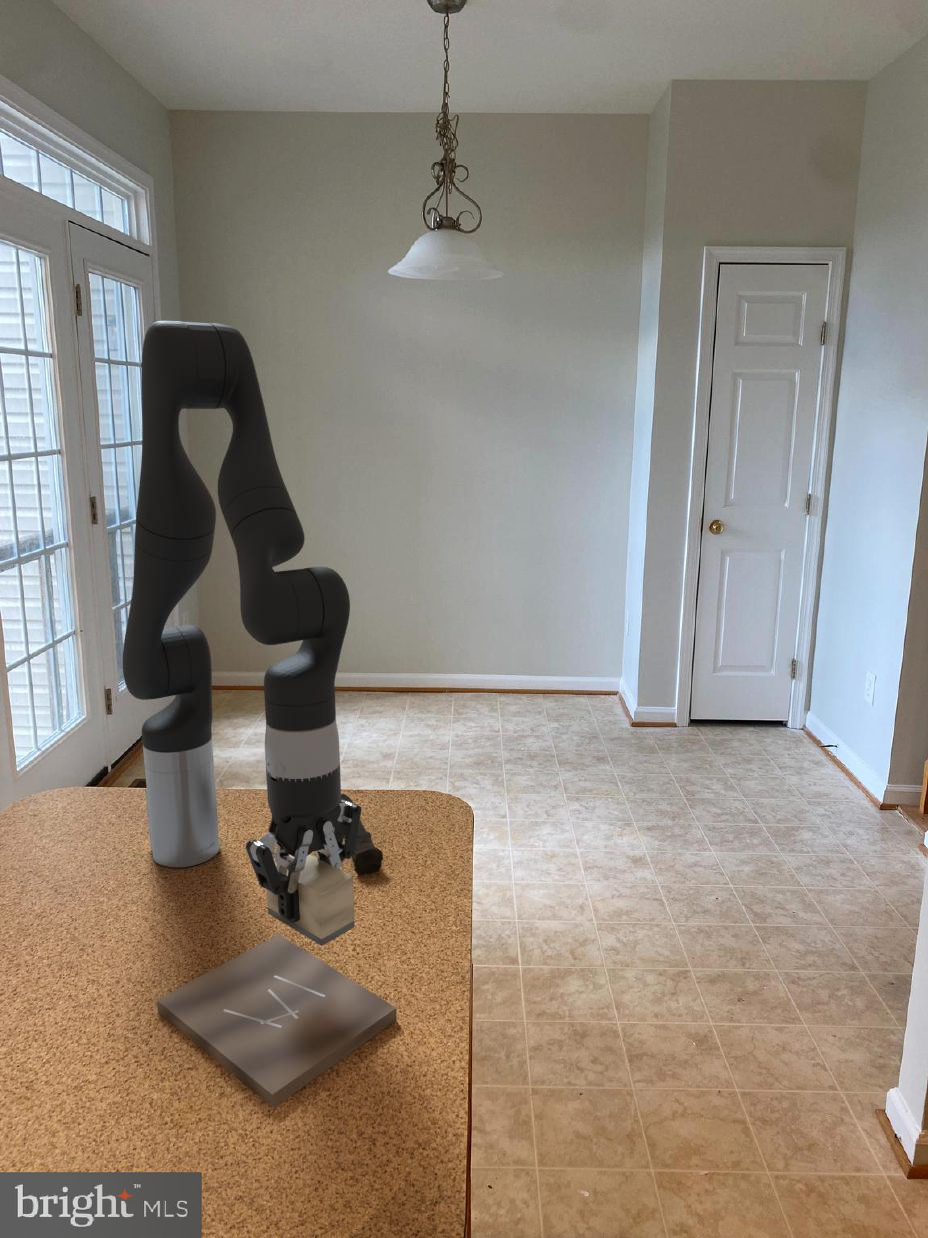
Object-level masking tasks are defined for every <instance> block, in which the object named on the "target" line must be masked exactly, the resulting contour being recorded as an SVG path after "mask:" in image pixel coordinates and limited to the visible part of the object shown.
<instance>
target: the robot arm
mask: <svg viewBox="0 0 928 1238" xmlns="http://www.w3.org/2000/svg"><path fill="white" fill-rule="evenodd" d="M141 351H142V352H141V375H140V377H141V382H140V383H141V458H140V459H141V461H140V463H141V464H140V474H139V476H140V477H139V486H138V497H137V506H136V514H135V515H136V516H135V529H134V531H135V532H134V554H133V556H134V558H133V579H132V592H131V600H130V605H129V611H128V615H127V616H128V617H127V624H126V629H125V634H124V641H123V647H122V673H123V674H122V675H123V681H124V683H125V687H126V688H127V690H128V693H130V695H131V696H133V697H134V698H136V699H137V700H143V701H144V700H146V701H149V700H157V699H163V698H169V697H172V696H175V697H174V698H173V700H172V701H171V702H170V703H169V704H168V705H167V706H165V707H164V708H163V709H162V710H159V711H158V712H156V713H155V714H153V715H152V716H151V715H150V717H149V718H147V719H146V720H145V721H144V722H143V724H142V727H141V742H142V749H143V762H144V773H145V783H146V789H145V799H146V800H145V801H146V809H147V823H148V833H149V844H150V850H152V851H151V853H152V858H153V861H155V863H156V864H158V865H160V866H162V867H163V866H164V867H169V868H187V867H192V866H197V865H200V864H202V863H205V862H207V861H209V860H211V859H212V858H213V857H215V856H216V855H217V854H218V853H219V851H220V834H219V833H220V832H219V831H220V830H219V818H218V817H219V816H218V804H217V793H216V791H217V790H216V776H215V761H214V759H215V758H214V751H213V750H214V749H213V747H214V746H213V733H212V724H213V696H212V694H213V692H212V691H213V690H212V689H213V687H212V686H213V685H212V683H213V681H212V677H213V674H212V673H213V671H212V670H213V669H212V656H211V649H210V646H209V641H208V639H207V636H206V635H205V633H204V631H203V629H201V628H200V627H199V626H197V625H194V624H185V625H184V624H183V625H177V626H170V627H166V628H165V626H166V624H167V621H168V619H169V618H170V615H171V613H172V612H173V610H174V609H175V608H176V606H177V605H178V604H179V603H180V601H181V600H182V599H183V598H184V597H185V595H186V594H187V593H188V592H189V590H190V589H191V588H193V586H194V585H195V583H196V582H197V581H198V580H199V578H200V577H201V576H202V575H203V573H204V571H205V569H206V568H207V566H208V564H209V563H210V560H211V557H212V553H213V552H212V551H213V547H214V539H215V538H214V537H215V530H216V521H217V509H216V505H215V501H214V499H213V496H212V495H211V493H210V490H209V489H208V487H207V486H206V484H205V482H204V481H203V479H202V477H201V475H200V474H199V473H198V471H197V469H196V467H194V465H193V463H192V462H191V460H190V457H189V456H188V454H187V452H186V450H185V447H184V445H183V443H182V440H181V435H180V425H179V424H180V423H179V422H180V414H181V411H182V409H183V410H185V409H186V410H193V409H194V410H218V409H219V410H220V409H225V410H226V412H227V414H228V415H229V418H230V420H231V423H232V433H231V437H230V441H229V444H228V446H227V450H226V453H225V455H224V457H223V461H222V464H221V467H220V469H219V473H218V478H217V497H218V504H219V507H220V510H221V513H222V516H223V518H224V521H225V525H226V527H227V529H228V532H229V534H230V537H231V539H232V543H233V545H234V547H235V548H234V549H235V555H236V559H237V566H238V574H239V587H240V588H239V598H240V599H239V600H240V602H239V603H240V604H239V606H240V608H239V609H240V616H241V617H240V618H241V621H242V624H243V626H244V628H245V630H246V631H247V634H249V635H250V636H251V637H252V638H253V639H254V640H255V641H257V642H258V643H261V644H262V645H265V646H276V645H277V646H278V645H283V644H289V643H293V642H299V641H302V642H301V644H300V647H299V648H298V650H297V651H296V652H295V653H293V654H292V655H290V656H289V657H288V658H284V659H283V660H281V661H278V662H276V663H275V664H273V665H271V666H270V667H269V668H267V670H266V672H265V673H264V677H263V693H264V694H263V697H264V710H265V711H264V713H265V734H264V755H265V758H264V759H265V772H266V773H265V774H266V776H265V777H266V789H267V790H266V791H267V793H266V794H267V805H268V807H269V810H270V814H271V820H270V824H269V827H268V832H267V834H265V835H263V836H262V837H261V838H260V839H258V840H254V839H250V840H248V841H247V842H246V843H245V844H246V845H245V850H246V852H247V855H248V857H249V860H250V863H251V866H252V868H253V871H254V873H255V877H256V879H257V881H258V884H259V886H260V887H261V888H263V889H265V890H266V891H267V890H269V891H271V892H272V893H273V894H275V895H278V909H279V913H280V915H281V916H283V917H284V918H285V919H287V920H288V921H290V922H292V923H295V922H297V921H299V920H300V911H299V891H298V890H297V886H298V881H299V876H300V872H301V871H303V870H304V868H305V863H306V858H307V856H308V855H309V854H310V855H311V854H312V853H314V852H315V855H316V858H318V859H320V860H322V861H324V862H326V863H328V864H330V865H332V866H334V867H335V868H337V869H339V870H341V868H342V867H341V866H342V862H344V861H345V860H346V859H347V860H350V859H351V858H353V857H352V856H353V853H354V848H355V842H356V837H357V831H358V826H359V821H361V814H362V807H361V806H360V805H359V804H355V803H354V802H353V803H352V802H349V801H347V800H345V799H343V800H341V794H342V786H341V785H342V783H341V761H340V760H341V758H340V756H341V755H340V754H341V753H340V751H341V750H340V735H339V731H338V724H337V715H336V714H337V712H336V689H335V688H336V686H335V682H336V681H335V680H336V675H337V671H338V667H339V662H340V657H341V653H342V649H343V648H342V647H343V644H344V641H345V636H346V633H347V630H348V626H349V624H348V623H349V620H350V613H351V612H350V611H351V601H350V600H351V599H350V594H349V589H348V587H347V585H346V583H345V581H344V579H343V578H342V577H341V575H340V574H339V572H337V571H336V570H334V569H333V568H331V567H328V566H313V567H305V568H304V567H303V568H298V569H289V570H288V569H287V570H281V571H280V570H279V571H276V570H274V569H273V568H274V567H277V566H280V565H282V564H285V563H286V562H288V561H290V560H291V559H293V558H295V556H297V555H298V554H299V553H300V552H301V551H302V549H303V548H304V545H305V532H304V528H303V526H302V523H301V520H300V518H299V516H298V513H297V510H296V508H295V505H294V504H293V502H292V498H291V495H290V494H289V491H288V489H287V486H286V484H285V481H284V478H283V477H282V474H281V471H280V468H279V465H278V461H277V458H276V454H275V450H274V445H273V441H272V436H271V432H270V426H269V423H268V417H267V413H266V408H265V403H264V398H263V397H262V391H261V387H260V383H259V378H258V375H257V370H256V366H255V363H254V359H253V356H252V353H251V349H250V347H249V345H248V343H247V341H246V340H245V337H244V336H243V334H242V333H241V332H240V330H239V329H237V328H235V327H233V326H232V325H227V324H222V323H214V322H213V323H212V322H209V323H208V322H193V321H177V320H158V321H155V322H153V323H152V324H151V325H149V327H148V329H147V331H146V333H145V335H144V339H143V345H142V349H141ZM340 800H341V801H340ZM339 802H340V803H339ZM344 835H345V838H344ZM343 841H344V842H343ZM276 844H277V845H276ZM275 846H276V852H275ZM289 855H291V856H293V857H294V859H293V858H291V857H290V856H289ZM274 860H275V862H276V864H277V867H276V865H275V862H274ZM287 870H288V877H286V875H287Z"/></svg>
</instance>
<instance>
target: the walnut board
mask: <svg viewBox="0 0 928 1238" xmlns="http://www.w3.org/2000/svg"><path fill="white" fill-rule="evenodd" d="M156 1006H157V1013H159V1015H161V1016H162V1017H163V1018H164V1019H166V1020H167V1021H168V1022H169V1023H170V1024H172V1025H173V1026H174V1027H175V1028H177V1030H179V1031H180V1032H181V1033H182V1034H184V1035H185V1036H186V1037H187V1039H190V1040H191V1041H192V1042H193V1043H194V1044H195V1045H197V1046H198V1047H199V1048H200V1049H201V1050H203V1051H204V1052H205V1053H206V1054H207V1055H209V1056H210V1057H211V1058H212V1059H213V1060H215V1061H216V1062H217V1063H218V1064H219V1065H221V1067H223V1068H224V1069H225V1070H227V1072H229V1073H230V1074H231V1075H233V1076H234V1077H235V1078H236V1079H238V1080H239V1081H240V1082H241V1083H242V1084H243V1085H244V1086H246V1088H248V1089H250V1091H252V1092H253V1093H254V1094H256V1095H257V1097H259V1098H260V1099H261V1100H262V1101H264V1102H265V1103H266V1104H268V1105H269V1106H270V1107H271V1108H273V1109H274V1108H275V1107H277V1106H278V1105H280V1104H281V1103H283V1102H284V1101H286V1100H287V1099H288V1098H290V1097H291V1096H292V1095H294V1094H296V1092H298V1091H299V1090H301V1089H302V1088H303V1087H305V1086H307V1085H308V1084H309V1083H311V1082H312V1081H313V1080H315V1079H317V1078H318V1077H319V1076H321V1075H322V1074H323V1073H324V1072H326V1071H327V1070H328V1069H330V1068H332V1067H333V1066H334V1065H336V1064H337V1063H339V1062H340V1061H342V1060H343V1059H345V1057H347V1056H349V1055H350V1054H351V1053H352V1052H354V1051H356V1050H357V1049H359V1048H360V1047H361V1046H362V1045H364V1044H366V1043H367V1042H369V1040H371V1039H372V1038H373V1037H375V1036H377V1035H378V1034H379V1033H381V1032H383V1030H384V1029H386V1028H388V1027H389V1026H390V1025H392V1024H393V1023H395V1022H396V1021H397V1017H398V1016H397V1007H395V1006H394V1005H392V1004H391V1003H389V1002H388V1001H386V1000H385V999H383V998H381V997H380V996H378V995H376V994H375V993H374V992H372V991H370V990H369V989H367V988H366V987H363V986H362V985H360V984H359V983H358V982H356V981H354V980H352V979H351V978H349V977H348V976H347V975H344V974H343V973H342V972H340V971H338V970H336V969H335V968H334V967H332V966H330V965H328V964H327V963H326V962H324V961H322V960H321V959H319V958H318V957H317V956H315V955H312V954H311V953H309V952H308V951H306V950H305V949H303V948H301V947H300V946H299V945H297V944H296V943H294V942H292V941H290V940H289V939H287V938H286V937H284V936H282V935H280V933H278V934H276V935H274V936H272V937H271V938H268V939H267V940H265V941H263V942H261V943H260V944H258V945H256V946H254V947H252V948H250V949H249V950H246V951H245V952H243V953H241V954H239V955H237V956H235V957H233V958H231V959H230V960H228V961H226V962H224V963H222V964H220V965H219V966H217V967H215V968H212V969H211V970H210V971H207V972H205V973H204V974H202V975H200V976H198V977H197V978H194V979H192V980H191V981H189V982H187V983H185V984H184V985H182V986H180V987H177V989H175V990H173V991H171V992H169V993H167V994H165V995H164V996H161V997H160V998H158V999H156Z"/></svg>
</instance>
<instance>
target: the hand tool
mask: <svg viewBox="0 0 928 1238" xmlns="http://www.w3.org/2000/svg"><path fill="white" fill-rule="evenodd" d="M343 799H345V800H347V801H349V802H352V803H354V801H353V799H351V797H350V796H349V795H347V794H345V793H341V800H343ZM341 800H340V801H341ZM339 803H340V802H339ZM343 839H345V835H344V837H343ZM351 858H353V860H354V861H353V865H354V872H355V873H356V874H357V875H358V876H365V875H370V874H375V873H377V872H379V871H380V869H381V868H382V866H383V865H382V863H383V859H384V854H383V851H382V850H381V849H379V848H377V847H376V845H375V844H374V842H373V839H372V834H371V832H369V831H367V829H366V828H365V826H364V823H362V821H361V820H360V821H359V826H358V831H357V837H356V842H355V848H354V853H353V856H352V857H351Z"/></svg>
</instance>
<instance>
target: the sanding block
mask: <svg viewBox="0 0 928 1238" xmlns="http://www.w3.org/2000/svg"><path fill="white" fill-rule="evenodd" d="M289 856H290V857H291V858H293V859H294V857H293V856H291V855H289ZM274 862H275V859H274ZM275 865H276V867H277V864H276V862H275ZM286 877H288V870H287V875H286ZM297 890H298V891H299V911H300V920H299V921H297V922H295V923H292V922H290V921H288V920H287V919H285V918H284V917H283V916H281V915H280V913H279V909H278V895H275V894H273V893H272V892H271V891H269V890H267V889H266V898H267V900H266V901H267V902H266V903H267V913H268V915H270V916H271V917H273V918H274V919H277V920H278V921H279V922H281V923H283V924H284V925H285V926H288V928H289V927H290V929H293V930H295V931H296V932H298V933H299V934H301V935H303V936H305V937H306V938H307V939H309V940H311V941H313V942H314V943H316V944H318V945H319V946H321V947H323V946H325V945H326V944H328V943H331V942H332V941H333V940H335V939H337V938H338V937H341V936H342V935H343V934H345V933H348V931H351V930H352V929H354V928H355V927H356V926H355V925H356V924H355V899H354V897H355V896H354V894H355V893H354V876H353V875H351V874H349V873H347V872H345V871H344V870H341V869H337V868H335V867H334V866H332V865H330V864H328V863H326V862H324V861H322V860H320V859H318V858H317V856H316V857H315V856H314V855H311V854H309V855H308V856H307V858H306V863H305V868H304V870H303V871H301V872H300V876H299V881H298V886H297Z"/></svg>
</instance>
